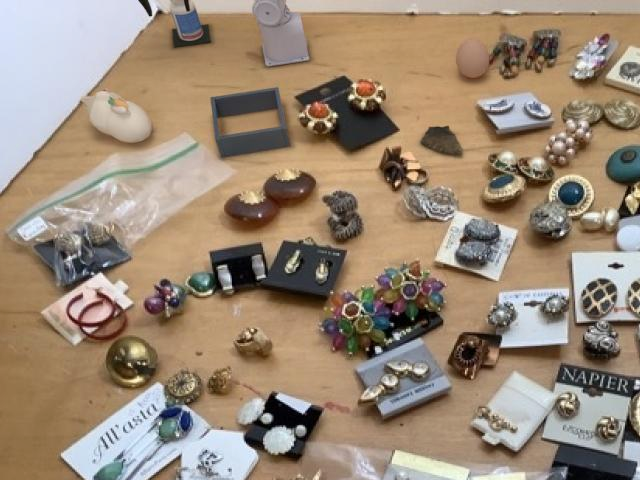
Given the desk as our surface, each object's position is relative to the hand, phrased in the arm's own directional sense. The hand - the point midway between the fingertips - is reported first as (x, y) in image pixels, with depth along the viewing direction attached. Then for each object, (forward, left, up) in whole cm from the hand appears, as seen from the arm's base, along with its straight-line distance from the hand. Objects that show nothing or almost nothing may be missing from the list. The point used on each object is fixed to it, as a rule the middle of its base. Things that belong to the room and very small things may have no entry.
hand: (169, 11), depth 170 cm
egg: (-60, +23, -11) cm, 65 cm away
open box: (-12, +30, -10) cm, 34 cm away
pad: (-2, -7, -10) cm, 13 cm away
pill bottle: (-2, -7, -10) cm, 13 cm away
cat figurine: (+13, +24, -11) cm, 29 cm away
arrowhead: (-49, +44, -11) cm, 67 cm away
